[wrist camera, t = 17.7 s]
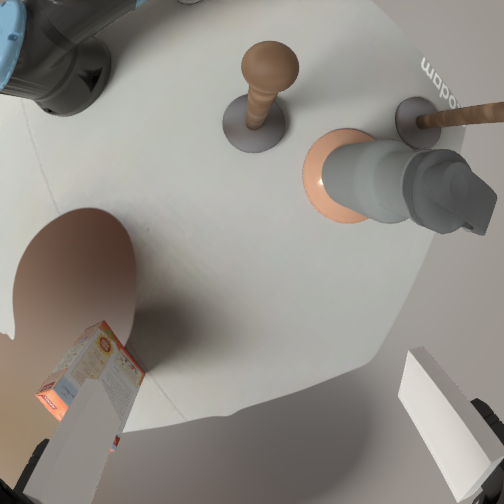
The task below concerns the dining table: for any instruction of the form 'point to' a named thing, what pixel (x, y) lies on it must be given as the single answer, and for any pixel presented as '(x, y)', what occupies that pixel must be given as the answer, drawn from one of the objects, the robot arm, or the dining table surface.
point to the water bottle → (408, 186)
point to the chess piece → (189, 1)
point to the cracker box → (94, 374)
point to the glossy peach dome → (314, 171)
